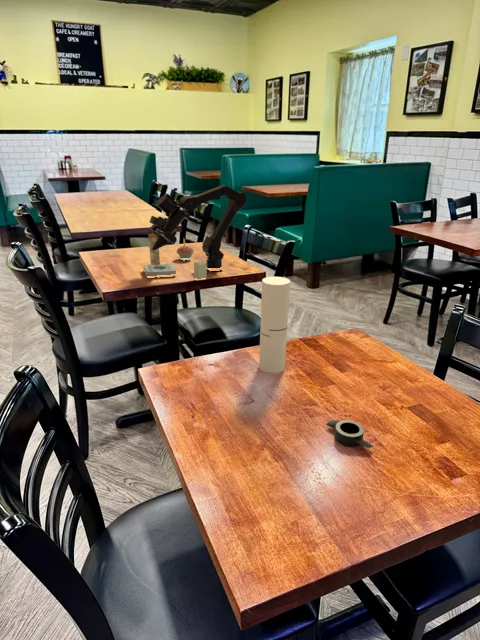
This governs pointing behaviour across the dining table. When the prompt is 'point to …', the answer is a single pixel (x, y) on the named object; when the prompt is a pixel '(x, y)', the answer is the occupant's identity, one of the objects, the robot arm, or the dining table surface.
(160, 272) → the bore block
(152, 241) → the birch dowel
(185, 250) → the cupcake
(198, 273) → the square bit
